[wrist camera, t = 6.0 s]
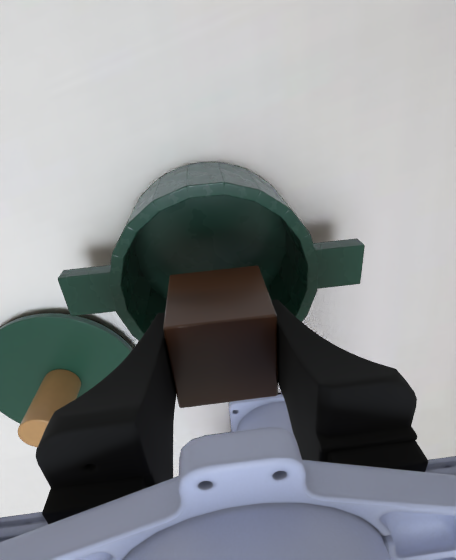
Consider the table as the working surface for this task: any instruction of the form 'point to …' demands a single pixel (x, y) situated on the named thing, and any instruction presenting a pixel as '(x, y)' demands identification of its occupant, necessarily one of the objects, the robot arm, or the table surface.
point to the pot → (209, 246)
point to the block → (221, 336)
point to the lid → (52, 366)
